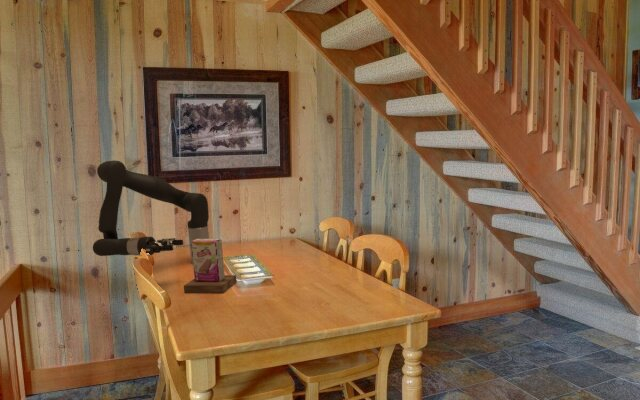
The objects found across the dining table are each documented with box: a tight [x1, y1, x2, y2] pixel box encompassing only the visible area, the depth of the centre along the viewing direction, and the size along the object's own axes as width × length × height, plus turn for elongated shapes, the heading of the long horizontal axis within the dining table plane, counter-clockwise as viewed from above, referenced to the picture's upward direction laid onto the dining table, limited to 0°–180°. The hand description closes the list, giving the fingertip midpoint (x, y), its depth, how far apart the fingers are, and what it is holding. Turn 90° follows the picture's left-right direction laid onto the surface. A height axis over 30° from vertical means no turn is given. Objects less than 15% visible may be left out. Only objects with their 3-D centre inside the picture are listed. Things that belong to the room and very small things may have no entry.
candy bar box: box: [191, 238, 226, 282], centre depth 210 cm, size 11×5×16 cm, turn 73°
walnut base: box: [183, 274, 237, 294], centre depth 211 cm, size 14×16×3 cm
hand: (177, 244), depth 213 cm, fingers open, 8 cm apart
